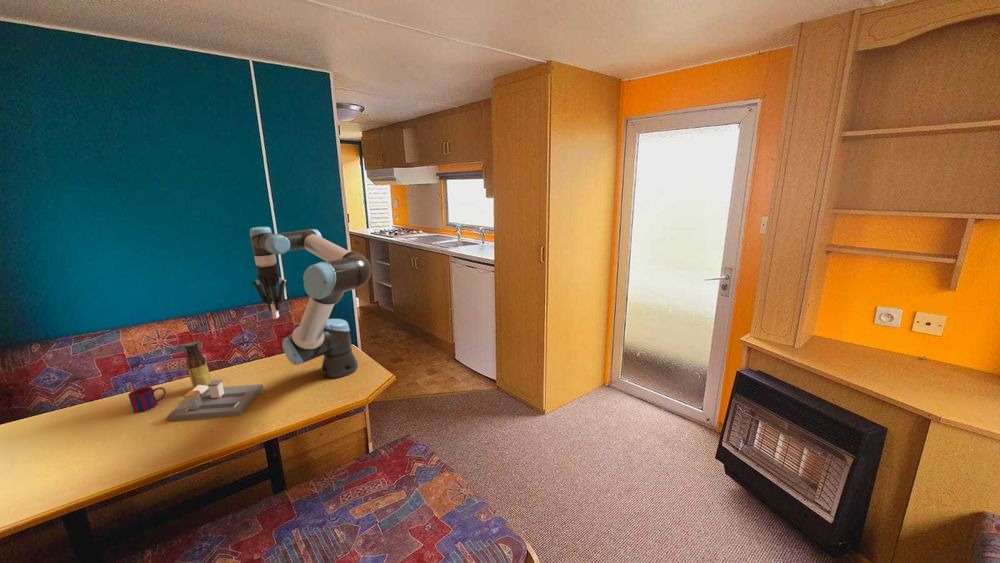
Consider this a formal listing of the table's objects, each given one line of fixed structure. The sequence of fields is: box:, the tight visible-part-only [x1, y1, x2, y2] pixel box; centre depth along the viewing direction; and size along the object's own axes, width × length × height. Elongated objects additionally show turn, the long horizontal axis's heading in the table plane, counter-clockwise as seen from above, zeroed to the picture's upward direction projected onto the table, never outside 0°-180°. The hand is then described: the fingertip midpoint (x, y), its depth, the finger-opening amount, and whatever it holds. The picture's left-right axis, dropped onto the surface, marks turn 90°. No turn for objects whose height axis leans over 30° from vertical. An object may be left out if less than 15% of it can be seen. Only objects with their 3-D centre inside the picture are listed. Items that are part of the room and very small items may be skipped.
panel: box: [166, 384, 264, 422], centre depth 146 cm, size 24×18×2 cm
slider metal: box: [184, 390, 202, 410], centre depth 140 cm, size 3×3×6 cm
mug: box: [128, 386, 167, 414], centre depth 145 cm, size 7×10×7 cm
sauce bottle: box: [184, 341, 213, 389], centre depth 155 cm, size 7×6×20 cm
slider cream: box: [208, 379, 224, 398], centre depth 147 cm, size 3×3×6 cm
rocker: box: [191, 385, 209, 395], centre depth 150 cm, size 4×5×2 cm
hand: (276, 317), depth 166 cm, fingers closed
